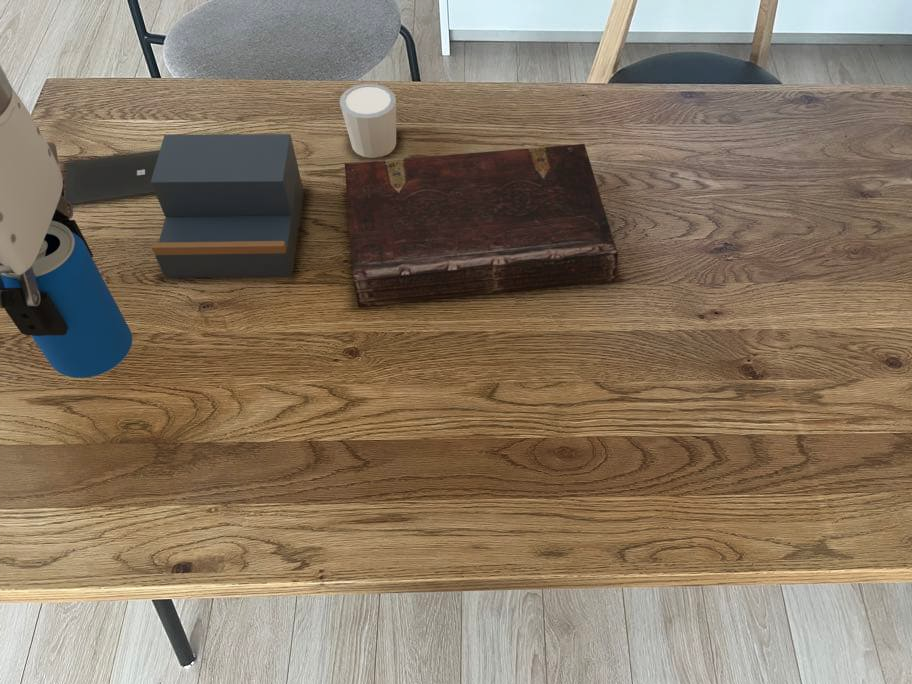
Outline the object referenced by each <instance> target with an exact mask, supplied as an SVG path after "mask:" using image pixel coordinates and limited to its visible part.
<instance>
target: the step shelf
mask: <svg viewBox="0 0 912 684" xmlns="http://www.w3.org/2000/svg"><path fill="white" fill-rule="evenodd" d="M159 151H160V152H159V156H158V159H157V163H156V166H155V170H154V173H153V176H152V180H151V184H152V186H153V189H154V191H155V193H156V194H155V195H156V198H157V201H158V203H159V205H160V208H161V210H162V212H163V215H164V221H163V225H162V228H161V232H160V236H159V240H158V242H152V245H151V249H152V251H153V254H154V256H155V258H156V260H157V263H158V264H159V267H160V269H161V272H162V274H163V276H164V278H165V279H181V278H183V279H189V278H191V279H193V278H244V277H245V278H247V277H248V278H249V277H250V278H252V277H253V278H255V277H292V276H293V275H294V267H295V261H296V252H297V245H298V239H299V231H300V224H301V217H302V210H303V209H302V208H303V203H304V201H303V200H304V195H305V191H304V187H303V182H302V178H301V173H300V169H299V165H298V161H297V156H296V152H295V148H294V144H293V140H292V135H291V134H290V133H256V134H255V133H243V134H242V133H237V134H236V133H233V134H231V133H229V134H227V133H226V134H225V133H223V134H216V133H215V134H207V133H205V134H164V135H163V139H162V141H161V146H160V149H159Z"/></svg>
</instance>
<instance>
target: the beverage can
mask: <svg viewBox="0 0 912 684" xmlns="http://www.w3.org/2000/svg"><path fill="white" fill-rule="evenodd" d="M53 235H55V236H57V237H58V238H59V240H60V246H58V244H57V242H56V240H55V238H54V237H53ZM32 267H33V271H34V274H35V278H36V281H37V285H38V288H39V292H44V293H47V294H48V295H49V296H50V298H51V300H52V301H53V303H54V304H55V306H56V308H57V309H58V311H59V313H60V314H61V316H62V317H63V319H64V321H65V322H66V324H67V326H68V330H67V333H66V335H44V336H32V335H30V337H31V338H32V340H33V341H34V343H35V344H36V345H37V347H38V348H39V350H40V351H41V353H42V354H43V356H44V357H45V359H46V361H48V363H49V364H50V366H51V367H52V369H54V370H55V371H56V372H57V373H59V374H60V375H62V376H65V377H68V378H73V379H88V378H93V377H98V376H100V375H104V374H105V373H108V372H109V371H111V370H113V369H115V368H116V367H117V366H119V365H120V364H121V363H123V361H124V360H125V359H126V357H127V356H128V355H129V353H130V351H131V348H132V345H133V334H132V331H131V329H130V327H129V325H128V324H127V322H126V319H125V317H124V316H123V314H122V311H121V310H120V308H119V306H118V304H117V302H116V301H115V299H114V297H113V294H112V292H111V291H110V289H109V287H108V285H107V283H106V281H105V280H104V277H103V275H102V274H101V272H100V269H99V268H98V266H97V264H96V262H95V261H94V259H93V258H92V257H91V255H90V253H89V251H88V249H87V247H86V245H85V244H84V242H83V241H82V239H81V238H80V237H79V236H77V235H76V234H75V233H73V232H71V231H70V230H69V228H67V227H66V226H65V225H63V224H61V223H59V222H56V221H52V220H51V223H50V226H49V228H48V231H47V233H46V236H45V238H44V241H43V243H42V245H41V248H40V250H39V253H38V255H37V257H36V259H35V261H34V263H33V264H32ZM1 276H2V279H3V282H4V286H5V288H21V287H20V283H19V280H18V277H17V274H15V273H1Z"/></svg>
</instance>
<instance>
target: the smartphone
mask: <svg viewBox="0 0 912 684" xmlns="http://www.w3.org/2000/svg"><path fill="white" fill-rule="evenodd" d="M159 152H160V150H154V151H147V152H146V151H145V152H139V153H130V154H122V155H116V156H115V155H113V156H107V157H99V158H93V159H86V160H84V159H83V160H77V161H72V162H70V163H68V164H67V166H66V174H65V189H64V198H65V199H67V200H68V201H69V202H70V203H71V205H72V206H78V205H84V204H85V205H86V204H93V203H100V202H106V201H115V200H121V199H122V200H123V199H128V198H129V199H130V198H135V197H141V196H142V197H143V196H150V195H156V193H155V191H154V189H153V186H152V184H151V180H152V176H153V173H154V170H155V166H156V163H157V159H158V156H159Z"/></svg>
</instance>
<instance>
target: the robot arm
mask: <svg viewBox="0 0 912 684" xmlns="http://www.w3.org/2000/svg"><path fill="white" fill-rule="evenodd" d="M64 184H65V180H64V177H63V175H62V171H61V169H60V167H59V159H58V150H57V146H56V143H55V142H53V141H48V140H46V138H45V136H44V135H43V133H42V131H41V130H40V128H39V126H38V124H37V123H36V121H35V119H34V118H33V116H32V114H31V113H30V111H29V109H28V108H27V107H26V105H25V103H24V102H23V101H22V99H21V97H20V96H19V95H18V93H17V92H16V91H15V89H14V88H13V86H12V84H11V83H10V80H9V79H8V77H7V75H6V73H5V71H4V69H3V66H2V65H1V64H0V310H3V309H4V310H5V312H6V313H7V315H8V316H9V318H10V319H11V321H12V322H13V324H14V325H15V326H16V328H17V329H18V331H19V332H20V333H21V335H24V336H31V335H32V336H44V335H66V333H67V330H68V326H67V324H66V322H65V321H64V319H63V317H62V316H61V314H60V313H59V311H58V309H57V308H56V306H55V304H54V303H53V301H52V300H51V298H50V296H49V295H48V294H47V293H44V292H39V288H38V285H37V281H36V278H35V274H34V271H33V267H32V264H33V263H34V261H35V259H36V257H37V255H38V253H39V250H40V248H41V245H42V243H43V241H44V238H45V236H46V233H47V231H48V228H49V226H50V223H51V220H52V221H56V222H59V223H61V224H63V225H65V226H66V227H67V228H69V230H70V231H71V232H73V233H75V234H76V235H77V236H79V237H80V238H81V239H82V241H83V242H84V244H85V245H86V247H87V249H88V251H89V253H90V255H91V257H92V259H93V257H94V254H93V252H92V250H91V247H90V246H89V245H88V241H87V240H86V238H85V237H84V235H83V233H82V231H81V228H80V227H79V226H78V223H77V221H76V219H72V218H73V216H74V208H73V205H71V203H70V202H69V201H68V200H67V199H65V189H64ZM53 237H54V238H55V240H56V242H57V244H58V246H60V240H59V238H58V237H57V236H55V235H53ZM1 273H15V274H17V277H18V280H19V283H20V287H21V288H5V286H4V282H3V279H2V276H1ZM32 336H31V337H32Z"/></svg>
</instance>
